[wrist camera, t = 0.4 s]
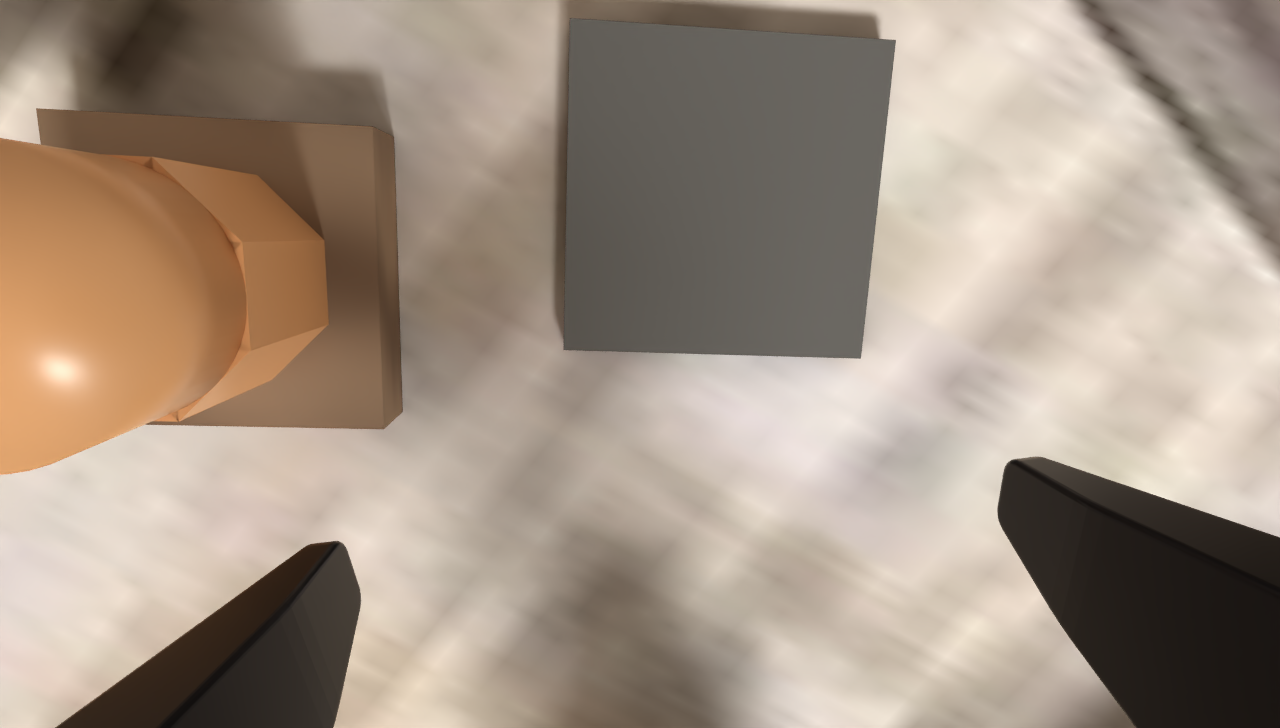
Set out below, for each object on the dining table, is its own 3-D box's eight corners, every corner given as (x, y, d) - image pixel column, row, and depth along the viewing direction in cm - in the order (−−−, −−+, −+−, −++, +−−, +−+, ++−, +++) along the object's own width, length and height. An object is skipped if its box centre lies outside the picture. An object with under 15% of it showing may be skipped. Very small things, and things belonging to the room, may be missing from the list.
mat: (849, 352, 23) (860, 358, 22) (564, 344, 22) (563, 349, 21) (881, 48, 21) (895, 40, 20) (571, 28, 20) (570, 18, 19)
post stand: (402, 411, 22) (332, 475, 16) (125, 406, 21) (-52, 470, 16) (393, 136, 20) (312, 97, 14) (91, 121, 20) (-123, 72, 14)
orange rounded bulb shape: (331, 381, 20) (159, 477, 12) (124, 376, 19) (-196, 472, 11) (321, 178, 19) (121, 137, 11) (100, 167, 18) (-276, 116, 10)
